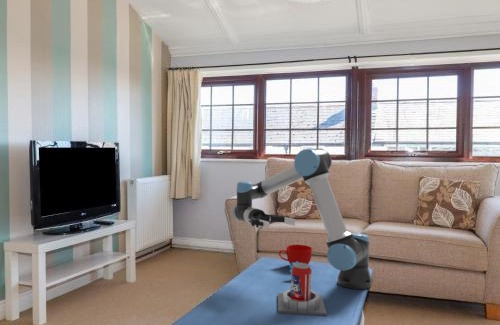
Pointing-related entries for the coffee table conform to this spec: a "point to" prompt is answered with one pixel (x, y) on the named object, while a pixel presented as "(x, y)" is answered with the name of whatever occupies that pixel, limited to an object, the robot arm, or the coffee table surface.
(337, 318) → the coffee table surface
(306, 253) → the ceramic cup
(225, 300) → the coffee table surface
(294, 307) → the housing
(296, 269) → the soda can
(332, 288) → the coffee table surface
